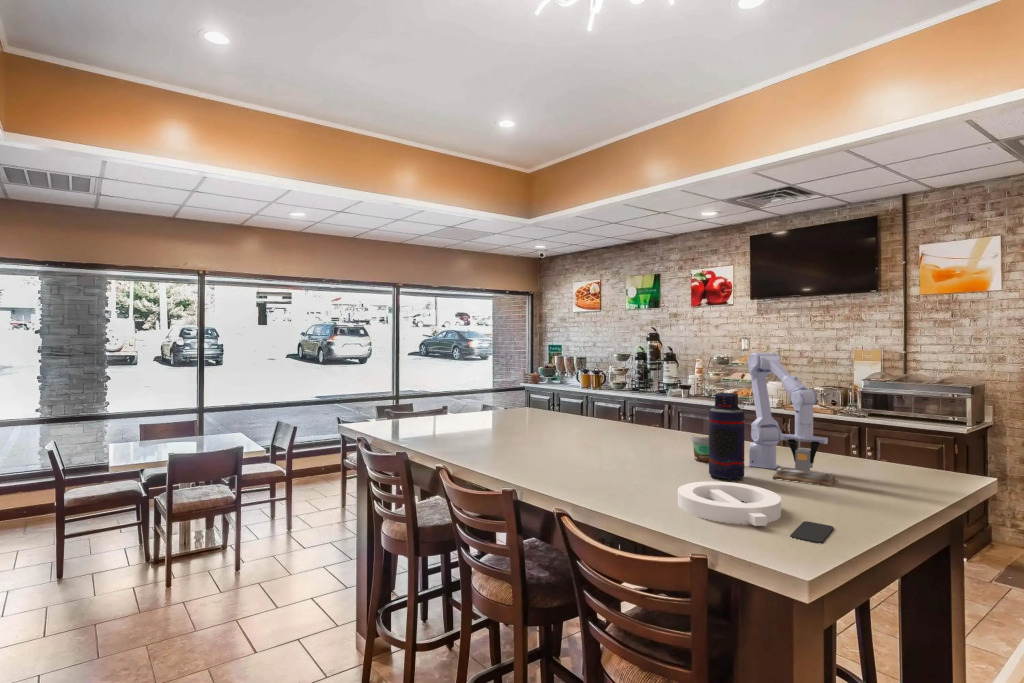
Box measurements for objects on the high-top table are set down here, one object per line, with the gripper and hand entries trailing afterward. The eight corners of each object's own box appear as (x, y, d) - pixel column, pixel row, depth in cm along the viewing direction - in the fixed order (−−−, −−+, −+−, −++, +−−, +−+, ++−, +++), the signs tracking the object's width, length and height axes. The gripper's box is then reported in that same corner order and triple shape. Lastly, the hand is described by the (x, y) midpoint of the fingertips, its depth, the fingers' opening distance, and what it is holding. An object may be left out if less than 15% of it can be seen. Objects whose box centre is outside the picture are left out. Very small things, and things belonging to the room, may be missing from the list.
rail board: (772, 479, 200) (772, 471, 200) (779, 472, 210) (779, 465, 210) (831, 486, 189) (831, 478, 189) (834, 479, 199) (834, 471, 199)
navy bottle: (738, 483, 194) (739, 395, 194) (704, 478, 201) (704, 393, 201) (749, 475, 205) (749, 392, 205) (716, 471, 212) (716, 390, 212)
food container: (691, 462, 226) (691, 437, 226) (690, 459, 232) (691, 435, 232) (724, 464, 223) (724, 439, 223) (723, 461, 229) (723, 436, 229)
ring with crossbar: (698, 491, 185) (698, 477, 185) (792, 507, 167) (792, 491, 167) (662, 512, 163) (662, 495, 163) (764, 533, 146) (764, 514, 145)
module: (795, 469, 198) (795, 450, 198) (798, 465, 204) (798, 447, 204) (809, 471, 195) (809, 452, 195) (812, 467, 202) (812, 448, 202)
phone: (788, 535, 141) (803, 520, 153) (788, 539, 141) (803, 523, 153) (822, 542, 136) (834, 526, 148) (822, 546, 136) (834, 529, 148)
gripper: (779, 423, 200) (779, 461, 200) (826, 426, 192) (826, 466, 192) (782, 420, 206) (782, 458, 206) (828, 424, 198) (828, 463, 198)
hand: (803, 462), depth 199 cm, fingers closed on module, 4 cm apart
